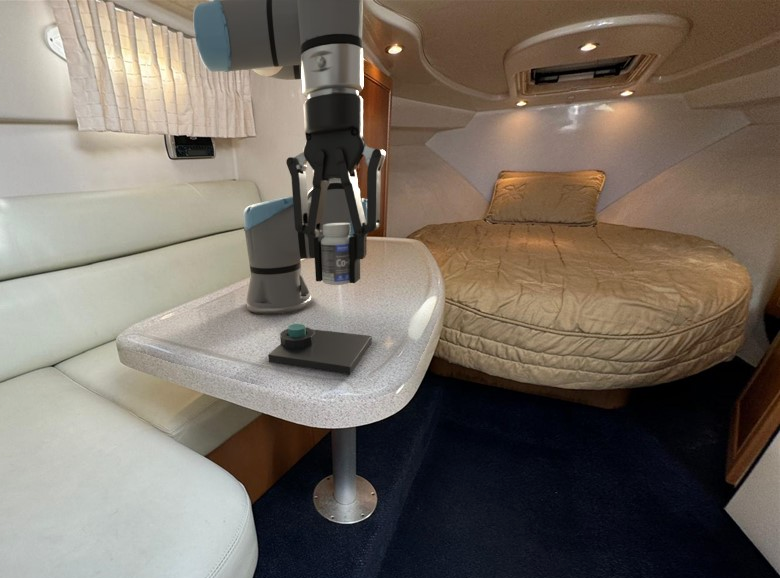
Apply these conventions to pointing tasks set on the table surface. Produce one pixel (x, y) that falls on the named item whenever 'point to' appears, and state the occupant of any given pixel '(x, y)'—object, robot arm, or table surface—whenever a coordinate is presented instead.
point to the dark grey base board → (321, 350)
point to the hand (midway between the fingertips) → (337, 279)
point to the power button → (296, 330)
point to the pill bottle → (335, 253)
